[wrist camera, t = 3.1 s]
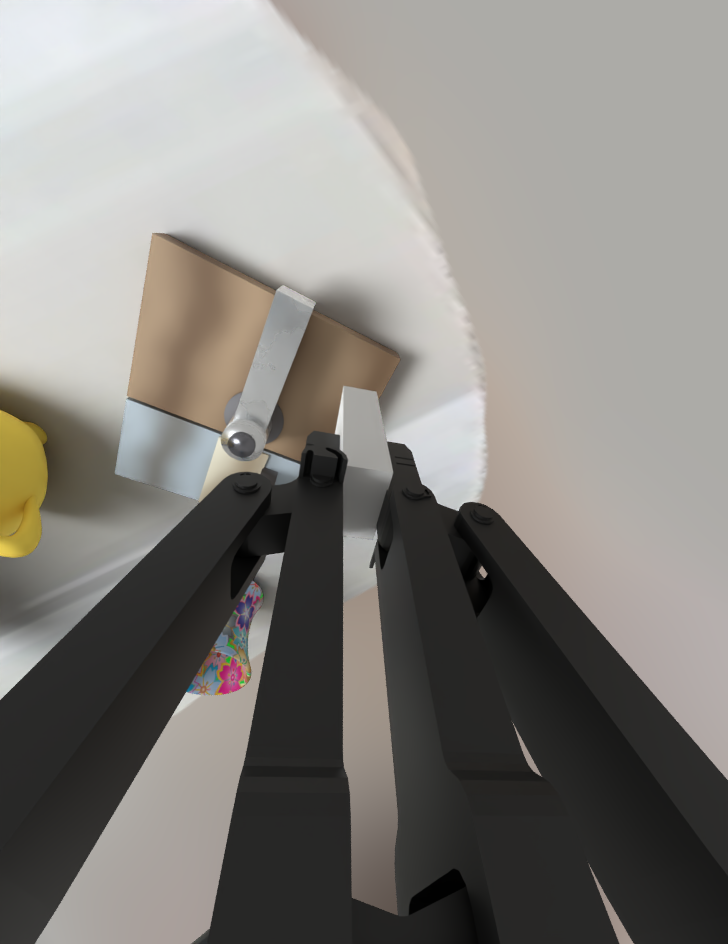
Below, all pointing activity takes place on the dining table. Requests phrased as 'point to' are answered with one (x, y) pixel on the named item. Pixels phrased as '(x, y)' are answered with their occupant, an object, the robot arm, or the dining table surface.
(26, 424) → the teapot
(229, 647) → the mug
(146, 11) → the dining table surface
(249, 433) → the latch bar
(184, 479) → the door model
